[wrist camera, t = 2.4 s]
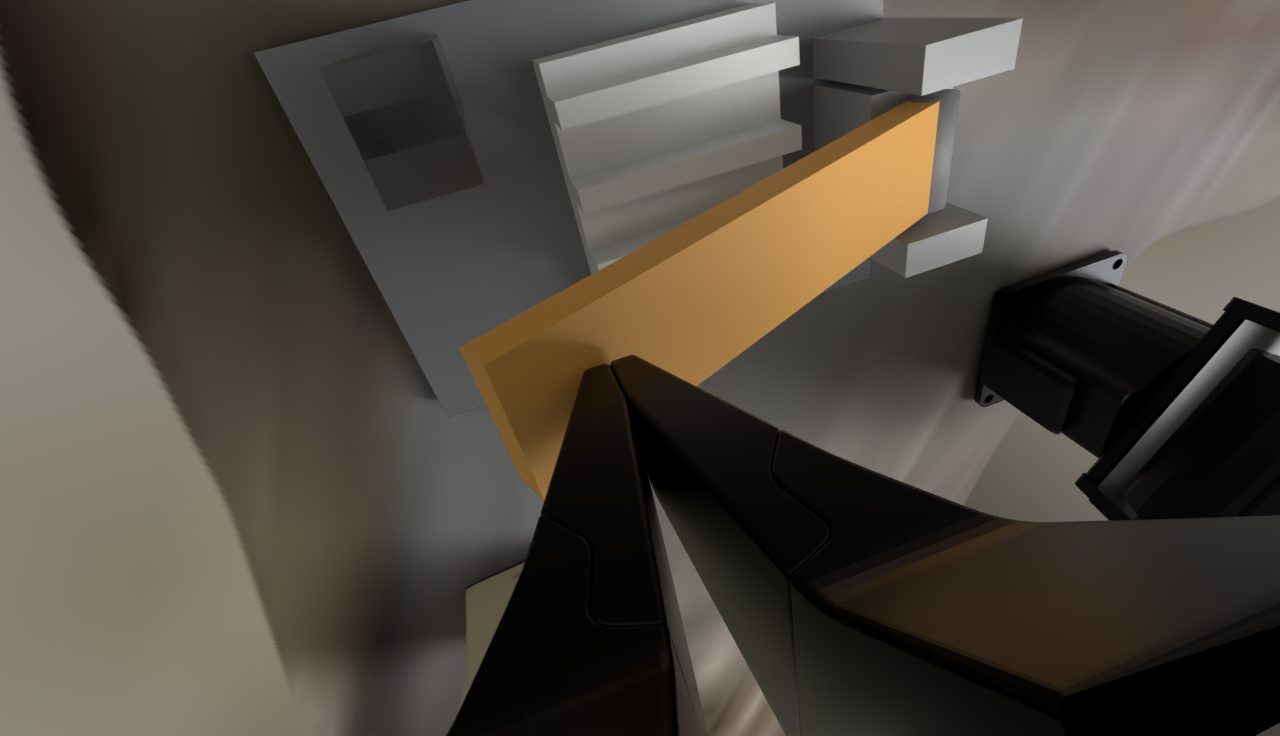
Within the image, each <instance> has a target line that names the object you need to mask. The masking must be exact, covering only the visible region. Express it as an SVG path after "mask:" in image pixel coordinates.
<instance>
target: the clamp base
mask: <svg viewBox="0 0 1280 736" xmlns="http://www.w3.org/2000/svg"><path fill="white" fill-rule="evenodd" d="M882 17H883V0H468V1H464V2H460V3H455V4H451V5H447V6H443V7H439V8H435V9H431V10H427V11H423V12H419V13H414V14H410V15H406V16H402V17H398V18H394V19H390V20H386V21H382V22H378V23H373V24H369V25H365V26H361V27H357V28H353V29H349V30H345V31H341V32H336V33H332V34H328V35H324V36H320V37H316V38H312V39H308V40H304V41H300V42H295V43H291V44H287V45H283V46H279V47H275V48H271V49H267V50H263V51H258V52H254V55H255V57H256V59H257V61H258V62H259V64H260V66H261V68H262V70H263V72H264V74H265V76H266V77H267V79H268V81H269V83H270V85H271V87H272V89H273V91H274V92H275V94H276V96H277V98H278V100H279V102H280V104H281V106H282V107H283V109H284V111H285V113H286V115H287V117H288V119H289V121H290V123H291V124H292V126H293V128H294V130H295V132H296V134H297V136H298V138H299V139H300V141H301V143H302V145H303V147H304V149H305V151H306V153H307V154H308V156H309V158H310V160H311V162H312V164H313V166H314V168H315V169H316V171H317V173H318V175H319V177H320V179H321V181H322V183H323V184H324V186H325V188H326V190H327V192H328V194H329V196H330V198H331V199H332V201H333V203H334V205H335V207H336V209H337V211H338V213H339V215H340V216H341V218H342V220H343V222H344V224H345V226H346V228H347V230H348V231H349V233H350V235H351V237H352V239H353V241H354V243H355V245H356V246H357V248H358V250H359V252H360V254H361V256H362V258H363V260H364V261H365V263H366V265H367V267H368V269H369V271H370V273H371V275H372V276H373V278H374V280H375V282H376V284H377V286H378V288H379V290H380V292H381V293H382V295H383V297H384V299H385V301H386V303H387V305H388V307H389V308H390V310H391V312H392V314H393V316H394V318H395V320H396V322H397V323H398V325H399V327H400V329H401V331H402V333H403V335H404V337H405V338H406V340H407V342H408V344H409V346H410V348H411V350H412V352H413V353H414V355H415V357H416V359H417V361H418V363H419V365H420V367H421V368H422V370H423V372H424V374H425V376H426V378H427V380H428V382H429V384H430V385H431V387H432V389H433V391H434V393H435V395H436V397H437V399H438V400H439V402H440V404H441V406H442V408H443V410H444V412H445V414H446V415H447V417H451V416H454V415H457V414H460V413H463V412H466V411H469V410H472V409H475V408H478V407H481V406H484V405H486V403H485V401H484V399H483V397H482V395H481V393H480V391H479V389H478V386H477V384H476V382H475V380H474V378H473V376H472V374H471V372H470V369H469V367H468V365H467V363H466V361H465V359H464V357H463V355H462V352H461V350H460V348H459V347H461V346H463V345H464V344H466V343H468V342H470V341H472V340H473V339H475V338H477V337H479V336H481V335H483V334H484V333H486V332H488V331H490V330H492V329H493V328H495V327H497V326H499V325H501V324H503V323H504V322H506V321H508V320H510V319H512V318H513V317H515V316H517V315H519V314H521V313H522V312H524V311H526V310H528V309H530V308H532V307H533V306H535V305H537V304H539V303H541V302H542V301H544V300H546V299H548V298H550V297H552V296H553V295H555V294H557V293H559V292H561V291H562V290H564V289H566V288H568V287H570V286H571V285H573V284H575V283H577V282H579V281H581V280H582V279H584V278H586V277H588V276H590V275H591V274H593V273H595V272H597V271H599V270H601V269H602V268H604V267H606V266H608V265H610V264H611V263H613V262H615V261H617V260H619V259H621V258H622V257H624V256H626V255H628V254H630V253H631V252H633V251H635V250H637V249H639V248H640V247H642V246H644V245H646V244H648V243H650V242H651V241H653V240H655V239H657V238H659V237H660V236H662V235H664V234H666V233H668V232H670V231H671V230H673V229H675V228H677V227H679V226H680V225H682V224H684V223H686V222H688V221H690V220H691V219H693V218H695V217H697V216H699V215H700V214H702V213H704V212H706V211H708V210H709V209H711V208H713V207H715V206H717V205H719V204H720V203H722V202H724V201H726V200H728V199H729V198H731V197H733V196H735V195H737V194H739V193H740V192H742V191H744V190H746V189H748V188H749V187H751V186H753V185H755V184H757V183H759V182H760V181H762V180H764V179H766V178H768V177H769V176H771V175H773V174H775V173H777V172H778V171H780V170H782V169H784V168H786V167H788V166H789V165H791V164H793V163H795V162H797V161H798V160H800V159H802V158H804V157H806V156H808V155H809V154H811V153H813V152H815V151H817V150H818V149H820V148H822V147H824V146H826V145H827V144H829V143H831V142H833V141H835V140H837V139H838V138H840V137H842V136H844V135H846V134H847V133H849V132H851V131H853V130H855V129H857V128H858V127H860V126H862V125H864V124H866V123H867V122H869V121H871V120H873V119H875V118H877V117H878V116H880V115H882V114H884V113H886V112H887V111H889V110H891V109H893V108H895V107H896V106H898V105H900V104H902V103H904V102H905V98H906V97H907V96H909V95H911V94H913V95H919V96H923V95H926V94H930V93H933V92H936V91H940V90H943V89H953V87H954V86H957V85H960V84H964V83H967V82H971V81H974V80H978V79H981V78H984V77H988V76H991V75H995V74H998V73H1001V72H1005V71H1008V70H1012V69H1014V66H1015V61H1016V55H1017V49H1018V43H1019V38H1020V32H1021V26H1022V21H1023V18H882ZM434 35H438V36H439V39H440V42H441V45H442V47H443V50H444V53H445V56H446V59H447V61H448V64H449V67H450V70H451V73H452V75H453V78H454V81H455V84H456V87H457V90H458V92H459V95H460V98H461V101H462V104H463V107H464V117H465V128H466V130H467V133H468V136H469V139H470V142H471V144H472V147H473V150H474V153H475V155H476V158H477V161H478V164H479V166H480V169H481V172H482V175H483V179H484V184H482V185H479V186H475V187H471V188H468V189H464V190H461V191H457V192H454V193H450V194H447V195H443V196H440V197H436V198H433V199H429V200H426V201H422V202H419V203H415V204H412V205H408V206H405V207H401V208H397V209H394V210H390V211H387V209H386V207H385V204H384V202H383V200H382V198H381V196H380V194H379V192H378V190H377V188H376V186H375V184H374V181H373V179H372V177H371V175H370V173H369V171H368V169H367V167H366V165H365V163H364V161H363V158H362V156H361V154H360V152H359V150H358V148H357V146H356V144H355V142H354V140H353V138H352V135H351V133H350V131H349V129H348V127H347V125H346V123H345V121H344V119H343V117H342V115H341V112H340V110H339V108H338V106H337V104H336V102H335V100H334V98H333V96H332V94H331V92H330V89H329V87H328V85H327V83H326V81H325V79H324V77H323V75H322V73H321V71H320V68H323V67H325V66H328V65H330V64H333V63H336V62H338V61H341V60H343V59H346V58H348V57H351V56H354V55H358V54H362V53H366V52H370V51H374V50H378V49H382V48H386V47H390V46H394V45H398V44H402V43H406V42H410V41H414V40H418V39H422V38H426V37H430V36H434ZM987 221H988V218H986V217H983V216H980V215H978V214H975V213H973V212H970V211H967V210H965V209H962V208H959V207H957V206H954V205H951V204H949V203H946V206H945V207H944V208H943V209H941V210H939V211H936V212H932V213H927V214H926V215H925V216H923V217H922V218H921V219H919V220H918V221H917V222H915V223H914V224H913V225H911V226H910V227H909V228H907V229H906V230H905V231H903V232H902V233H901V234H899V235H898V236H897V237H895V238H894V239H893V240H891V241H890V242H889V243H887V244H886V245H885V246H883V247H882V248H881V249H879V250H878V251H877V252H875V253H874V254H873V255H871V256H870V257H869V258H867V259H866V260H865V261H863V262H862V263H861V264H859V265H858V266H857V267H855V268H854V269H853V270H851V271H850V272H849V273H847V274H846V275H845V276H843V277H842V278H841V279H839V280H838V281H837V282H835V283H834V284H833V285H831V286H830V287H829V288H827V289H826V290H825V291H823V292H822V293H825V292H828V291H831V290H834V289H837V288H840V287H843V286H846V285H849V284H852V283H855V282H858V281H861V280H864V279H867V278H870V264H871V259H873V260H874V261H876V262H878V263H880V264H881V265H883V266H885V267H886V268H888V269H890V270H892V271H893V272H895V273H897V274H898V275H900V276H902V277H904V278H908V277H911V276H914V275H917V274H920V273H923V272H926V271H929V270H932V269H935V268H938V267H941V266H944V265H947V264H950V263H953V262H956V261H959V260H962V259H965V258H968V257H971V256H974V255H977V254H980V253H982V249H983V244H984V238H985V232H986V226H987ZM822 293H821V294H822Z"/></svg>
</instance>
